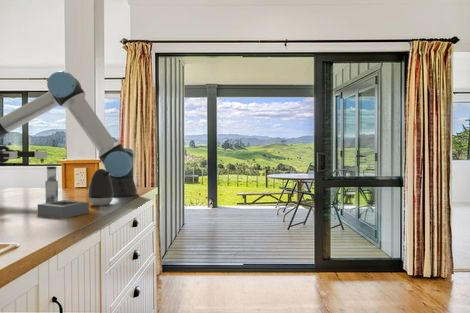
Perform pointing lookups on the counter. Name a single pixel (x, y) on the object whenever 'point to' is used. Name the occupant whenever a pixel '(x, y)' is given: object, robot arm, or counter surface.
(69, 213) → the socket block
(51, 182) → the tube
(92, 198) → the dark grey egg shape
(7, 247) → the counter surface
